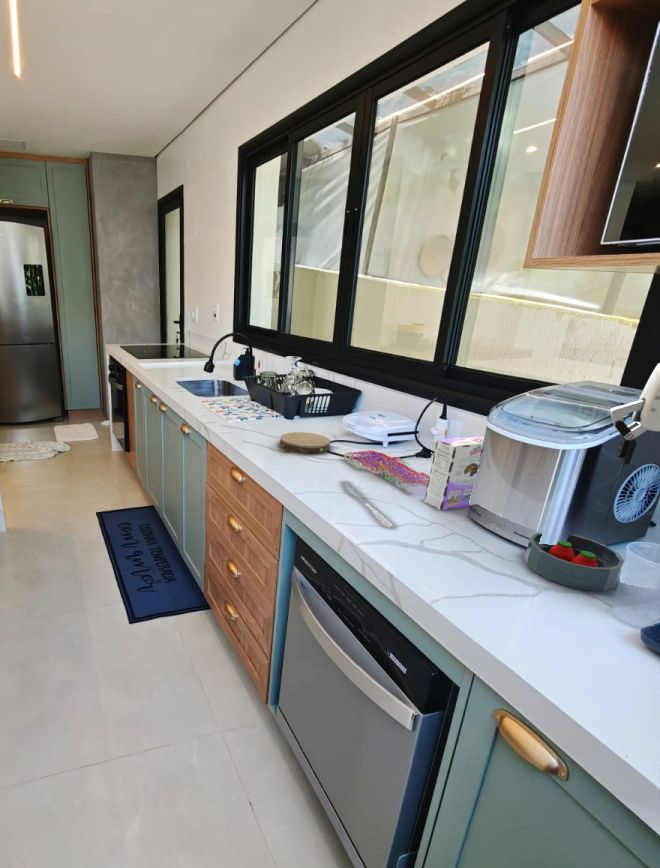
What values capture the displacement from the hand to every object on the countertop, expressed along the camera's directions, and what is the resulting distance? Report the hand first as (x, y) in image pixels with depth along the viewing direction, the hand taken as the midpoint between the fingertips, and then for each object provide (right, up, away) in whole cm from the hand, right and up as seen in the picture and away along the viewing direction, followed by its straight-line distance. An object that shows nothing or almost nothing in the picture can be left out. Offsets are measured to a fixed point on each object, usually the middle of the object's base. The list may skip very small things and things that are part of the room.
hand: (659, 466), depth 80 cm
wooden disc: (-41, +10, +84) cm, 94 cm away
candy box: (-12, -8, +43) cm, 46 cm away
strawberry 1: (-5, -18, +16) cm, 24 cm away
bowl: (-5, -19, +14) cm, 24 cm away
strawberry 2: (-4, -20, +12) cm, 23 cm away
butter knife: (-35, -7, +41) cm, 54 cm away
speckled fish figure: (-21, 0, +61) cm, 65 cm away
